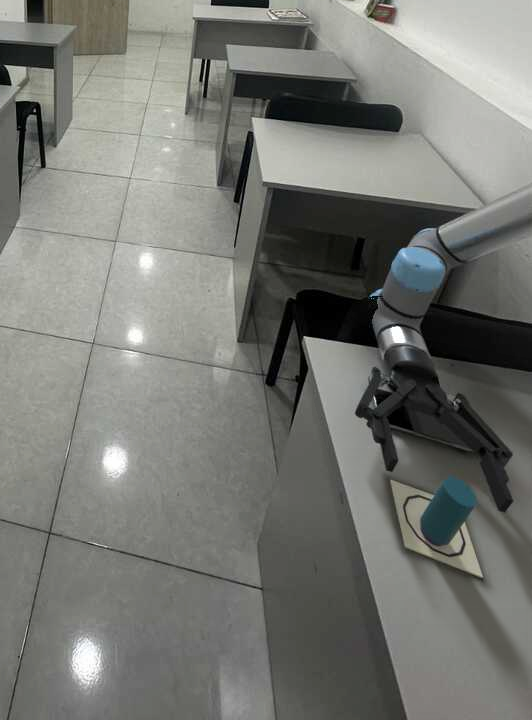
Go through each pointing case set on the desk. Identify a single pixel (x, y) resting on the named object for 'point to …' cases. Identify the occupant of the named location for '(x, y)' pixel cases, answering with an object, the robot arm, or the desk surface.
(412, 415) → the smartphone
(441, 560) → the drawing sheet
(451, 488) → the teal cylinder
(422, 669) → the desk surface
